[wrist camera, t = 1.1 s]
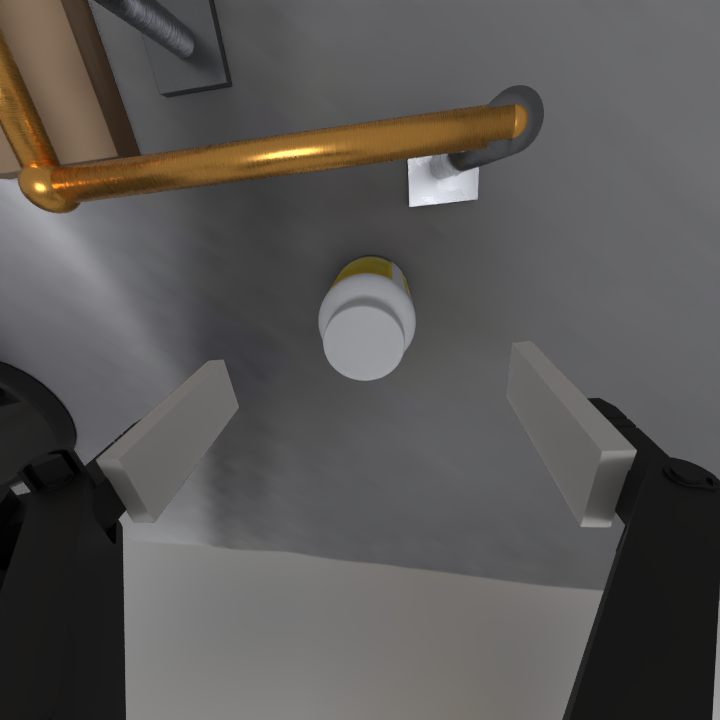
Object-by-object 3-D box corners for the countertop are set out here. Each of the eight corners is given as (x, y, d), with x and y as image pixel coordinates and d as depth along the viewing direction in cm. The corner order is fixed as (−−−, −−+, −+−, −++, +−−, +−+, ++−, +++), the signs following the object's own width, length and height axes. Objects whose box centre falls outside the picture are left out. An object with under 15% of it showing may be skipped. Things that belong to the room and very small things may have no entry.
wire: (205, 230, 27) (8, 264, 13) (138, 1, 21) (-366, -396, 7) (474, 199, 25) (590, 199, 11) (486, -71, 19) (800, -929, 4)
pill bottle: (321, 277, 28) (283, 322, 18) (387, 239, 27) (387, 265, 16) (358, 337, 31) (342, 409, 20) (421, 307, 29) (439, 367, 18)
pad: (9, 179, 27) (-25, 177, 25) (-75, 14, 22) (-126, -6, 20) (142, 159, 25) (118, 156, 23) (80, -20, 21) (43, -46, 19)
